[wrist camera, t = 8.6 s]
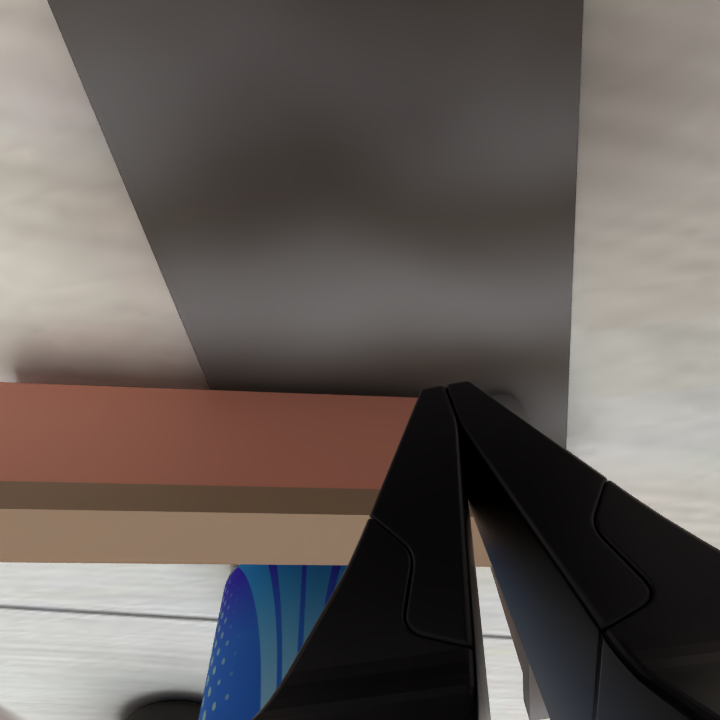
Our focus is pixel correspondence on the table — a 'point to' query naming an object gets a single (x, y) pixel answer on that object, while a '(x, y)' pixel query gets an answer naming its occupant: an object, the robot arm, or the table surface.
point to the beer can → (262, 633)
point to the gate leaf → (194, 474)
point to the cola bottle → (168, 711)
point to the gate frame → (353, 189)
